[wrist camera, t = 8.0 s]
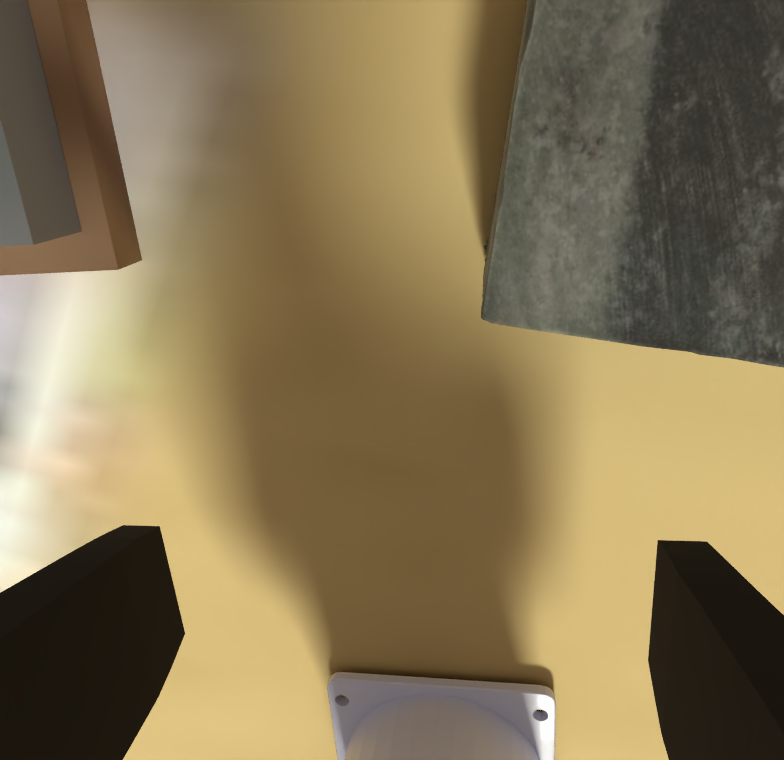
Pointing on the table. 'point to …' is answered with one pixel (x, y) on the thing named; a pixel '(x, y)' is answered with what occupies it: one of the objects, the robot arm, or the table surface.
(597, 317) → the stone block
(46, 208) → the tower mid
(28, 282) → the table surface
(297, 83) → the table surface
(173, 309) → the table surface
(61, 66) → the tower base
